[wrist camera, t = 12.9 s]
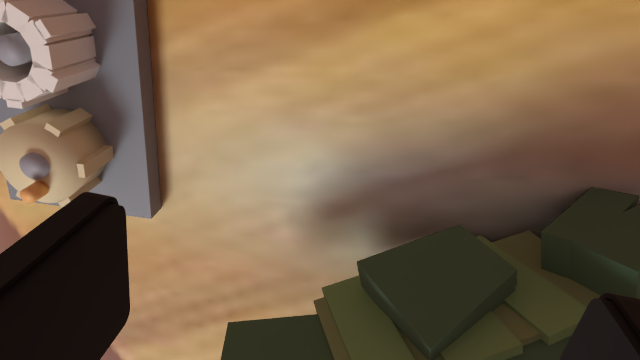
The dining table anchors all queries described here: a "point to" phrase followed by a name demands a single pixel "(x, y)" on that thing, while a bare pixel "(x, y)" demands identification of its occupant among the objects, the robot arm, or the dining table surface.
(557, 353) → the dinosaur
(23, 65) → the loose gear
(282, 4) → the dining table surface
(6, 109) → the gear board
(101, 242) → the robot arm
